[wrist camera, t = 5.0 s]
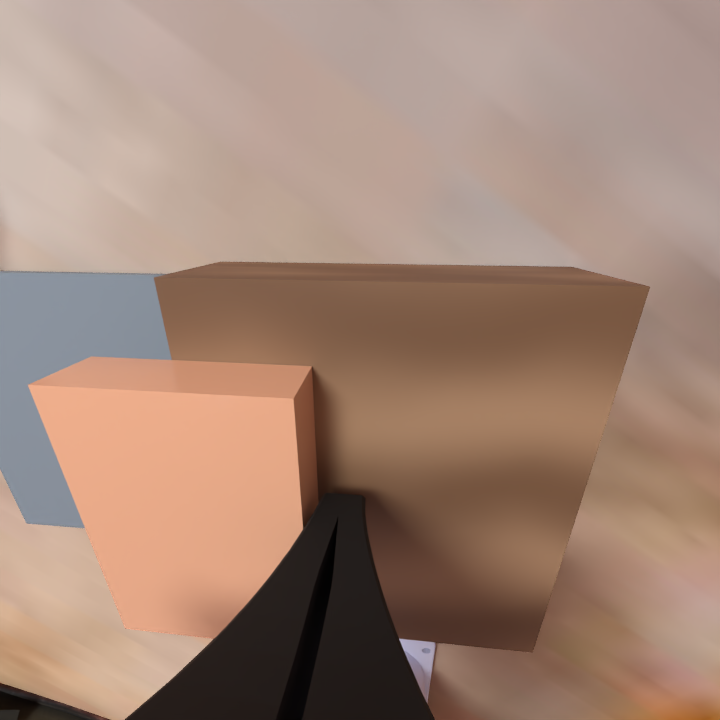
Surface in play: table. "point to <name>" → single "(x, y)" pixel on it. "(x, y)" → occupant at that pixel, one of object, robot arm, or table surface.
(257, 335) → the board
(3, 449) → the mat
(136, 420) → the block
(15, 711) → the diary
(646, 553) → the table surface
